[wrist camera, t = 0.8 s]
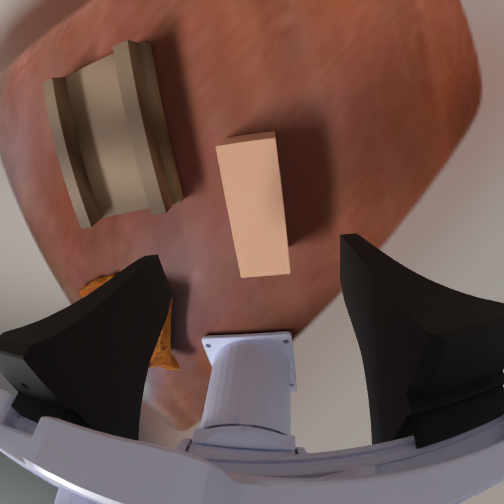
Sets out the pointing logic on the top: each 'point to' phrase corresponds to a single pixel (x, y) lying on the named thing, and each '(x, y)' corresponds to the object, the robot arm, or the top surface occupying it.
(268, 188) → the clay strip
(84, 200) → the grey u-channel
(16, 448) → the robot arm
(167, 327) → the pottery fragment
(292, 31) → the top surface
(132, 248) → the top surface
